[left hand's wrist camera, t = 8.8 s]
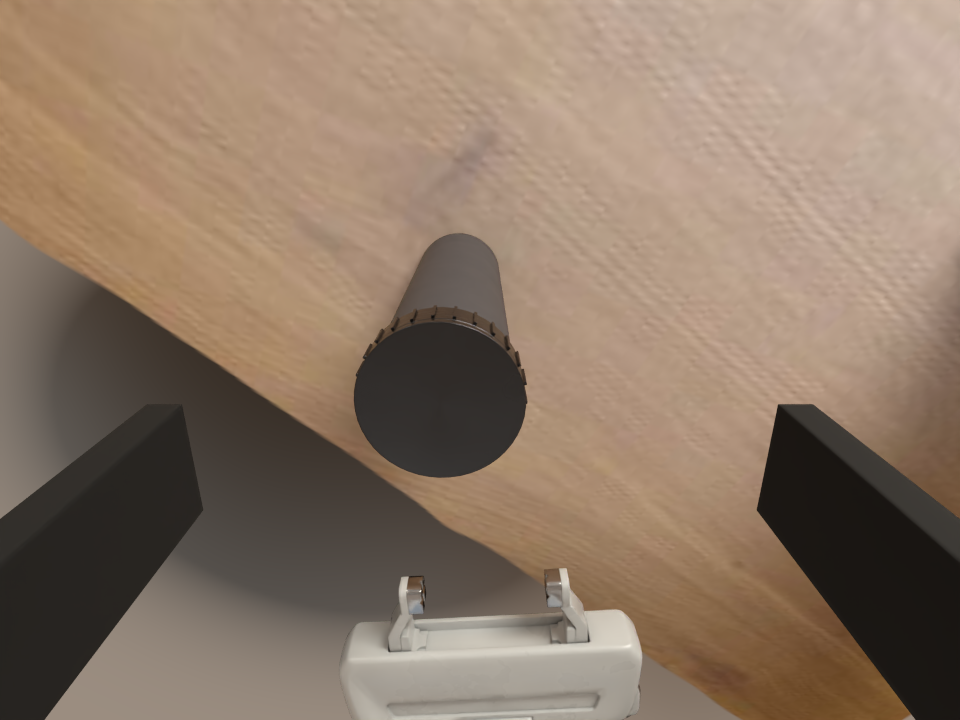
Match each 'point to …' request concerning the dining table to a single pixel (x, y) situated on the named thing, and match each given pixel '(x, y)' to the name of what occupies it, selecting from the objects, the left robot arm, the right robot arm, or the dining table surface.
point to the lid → (440, 392)
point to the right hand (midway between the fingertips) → (483, 578)
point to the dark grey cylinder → (457, 280)
